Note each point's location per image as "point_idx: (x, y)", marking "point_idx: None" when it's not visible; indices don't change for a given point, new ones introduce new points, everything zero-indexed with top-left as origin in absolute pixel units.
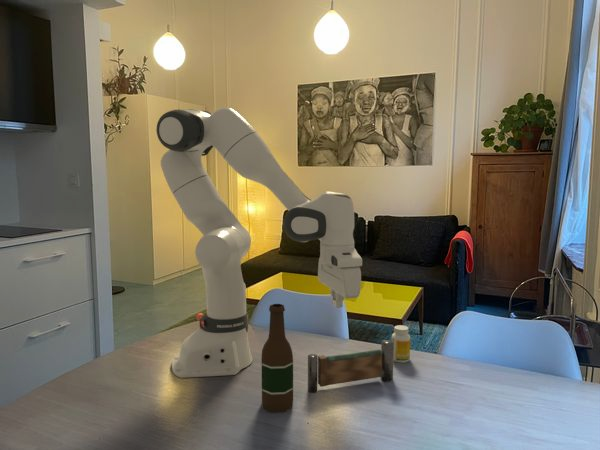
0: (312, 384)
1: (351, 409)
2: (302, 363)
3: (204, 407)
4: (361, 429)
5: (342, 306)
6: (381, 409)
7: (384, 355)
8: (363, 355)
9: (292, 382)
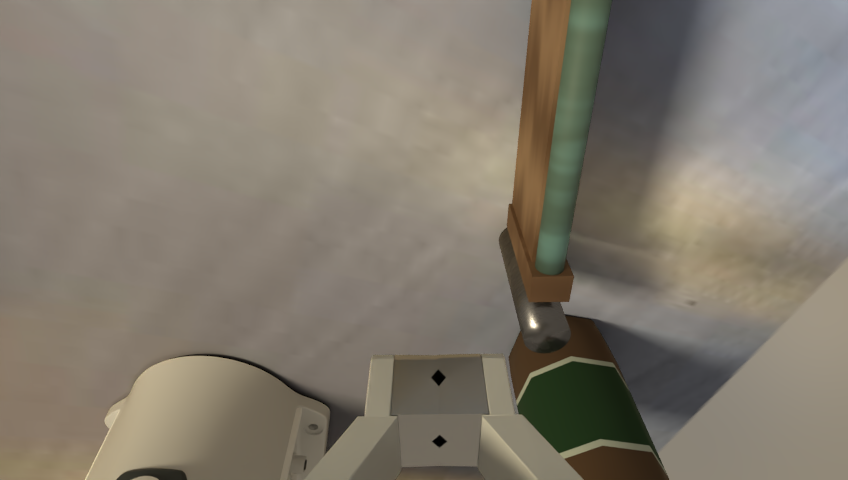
0: None
1: (711, 160)
2: (266, 206)
3: None
4: (835, 179)
5: (503, 355)
6: (790, 44)
7: None
8: (602, 51)
9: (622, 384)
